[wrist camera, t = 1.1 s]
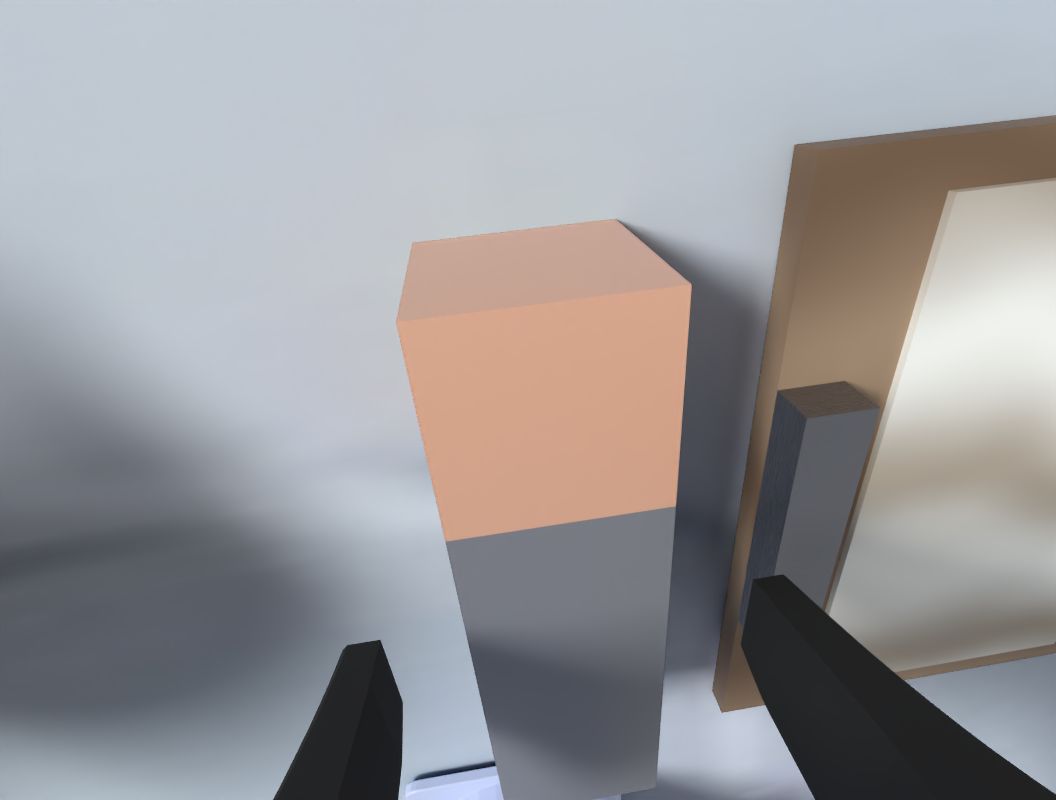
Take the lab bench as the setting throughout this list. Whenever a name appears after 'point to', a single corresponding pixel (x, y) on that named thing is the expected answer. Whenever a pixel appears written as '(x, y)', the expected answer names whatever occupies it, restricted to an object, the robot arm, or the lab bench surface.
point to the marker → (555, 486)
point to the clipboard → (909, 402)
